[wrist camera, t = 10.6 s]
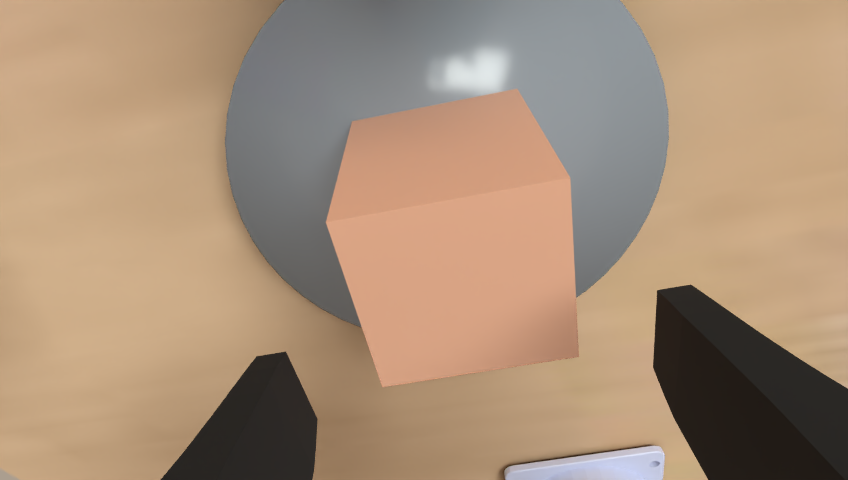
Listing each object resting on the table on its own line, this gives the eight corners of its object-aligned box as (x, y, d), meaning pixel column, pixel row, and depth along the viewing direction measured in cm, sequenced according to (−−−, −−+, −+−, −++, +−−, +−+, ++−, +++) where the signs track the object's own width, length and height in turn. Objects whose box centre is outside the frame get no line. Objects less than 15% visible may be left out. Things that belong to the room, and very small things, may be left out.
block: (531, 230, 18) (578, 356, 13) (389, 255, 19) (382, 387, 13) (516, 88, 15) (570, 177, 10) (352, 121, 16) (326, 222, 11)
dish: (646, 288, 21) (658, 308, 20) (311, 344, 22) (307, 365, 21) (663, -128, 14) (684, -130, 13) (159, -12, 15) (141, -5, 14)
